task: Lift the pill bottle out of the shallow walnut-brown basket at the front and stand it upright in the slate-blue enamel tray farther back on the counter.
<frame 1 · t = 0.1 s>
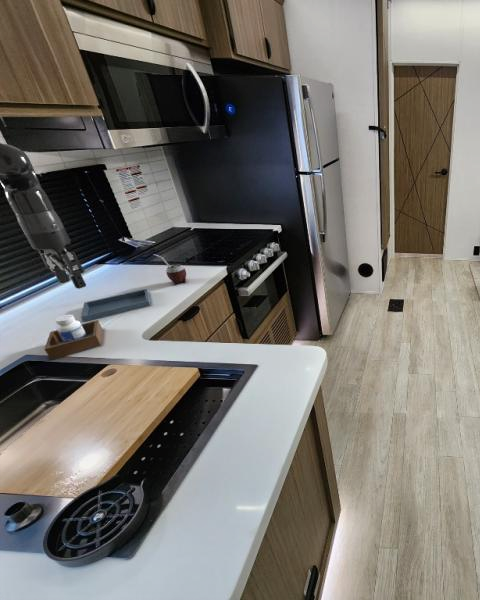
hand: (73, 284, 93), 21 cm above the worktop, tool pointing down, fingers open, 8 cm apart
pill bottle: (79, 344, 104), resting on basket
basket: (79, 345, 104), on the worktop
tray: (119, 307, 126), on the worktop
mate gourd: (179, 284, 145), on the worktop
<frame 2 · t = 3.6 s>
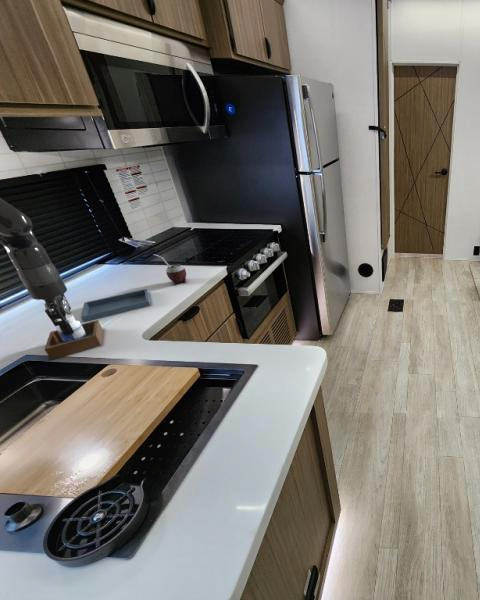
hand: (70, 329, 101), 6 cm above the worktop, tool pointing down, fingers closed on pill bottle, 5 cm apart
pill bottle: (79, 344, 104), resting on basket, touching gripper
everything else where it was.
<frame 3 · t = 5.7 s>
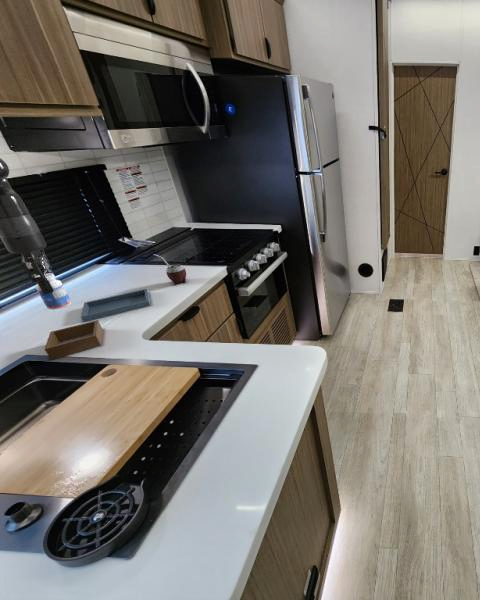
hand: (50, 289, 96), 19 cm above the worktop, tool pointing down, fingers closed on pill bottle, 5 cm apart
pill bottle: (60, 306, 99), point 14 cm above the worktop, touching gripper
everything else where it was.
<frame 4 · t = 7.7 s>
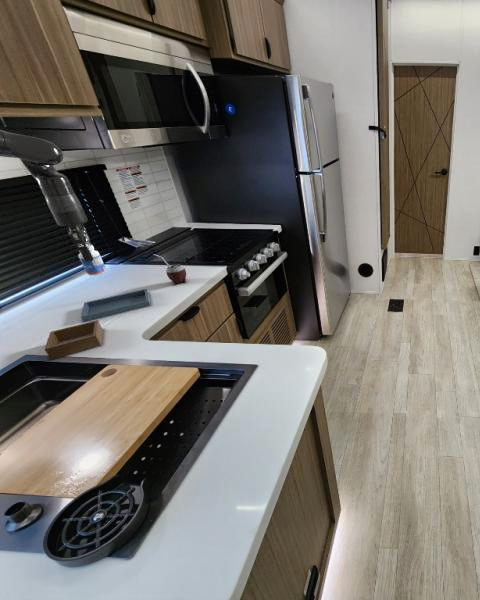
hand: (90, 258, 113), 21 cm above the worktop, tool pointing down, fingers closed on pill bottle, 5 cm apart
pill bottle: (97, 273, 116), point 15 cm above the worktop, touching gripper
everything else where it was.
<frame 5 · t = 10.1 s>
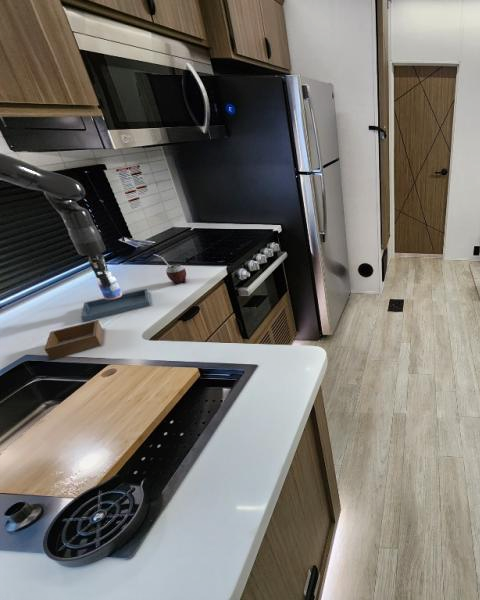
hand: (107, 283, 121), 10 cm above the worktop, tool pointing down, fingers closed on pill bottle, 5 cm apart
pill bottle: (114, 297, 124), point 5 cm above the worktop, touching gripper
everything else where it was.
when the fingers open (6 cm above the worktop, at t = 11.7 s): pill bottle stays where it is, resting on tray.
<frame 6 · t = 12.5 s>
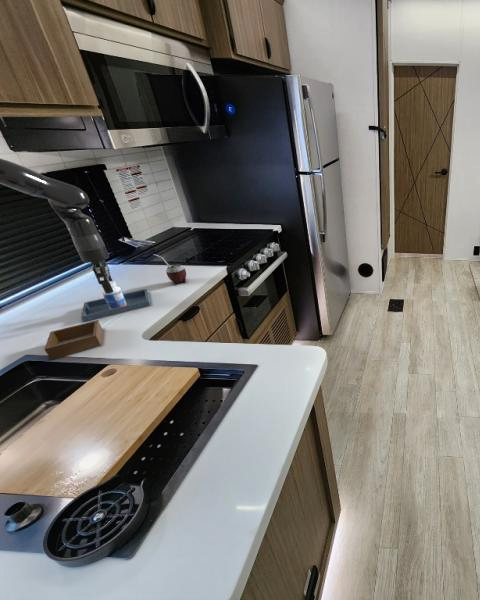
hand: (110, 288, 122), 8 cm above the worktop, tool pointing down, fingers open, 8 cm apart
pill bottle: (118, 306, 126), resting on tray
everything else where it was.
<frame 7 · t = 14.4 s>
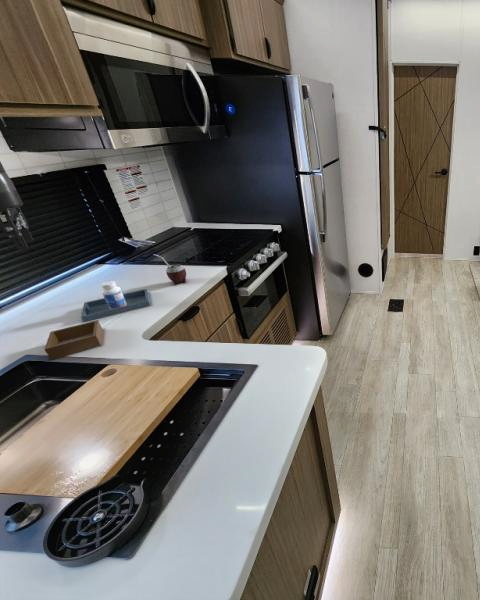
hand: (26, 245, 101), 29 cm above the worktop, tool pointing down, fingers open, 8 cm apart
nothing on the worktop moved.
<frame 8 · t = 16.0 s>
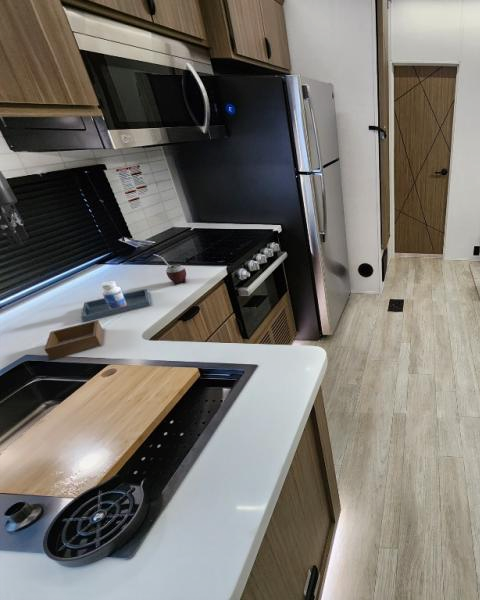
hand: (21, 242, 100), 30 cm above the worktop, tool pointing down, fingers open, 8 cm apart
nothing on the worktop moved.
at the end: pill bottle inside the target area in the tray (0.0 cm from its centre), point 0.4 cm above the tray's base; pill bottle tilted 0°; the gripper is holding nothing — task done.
